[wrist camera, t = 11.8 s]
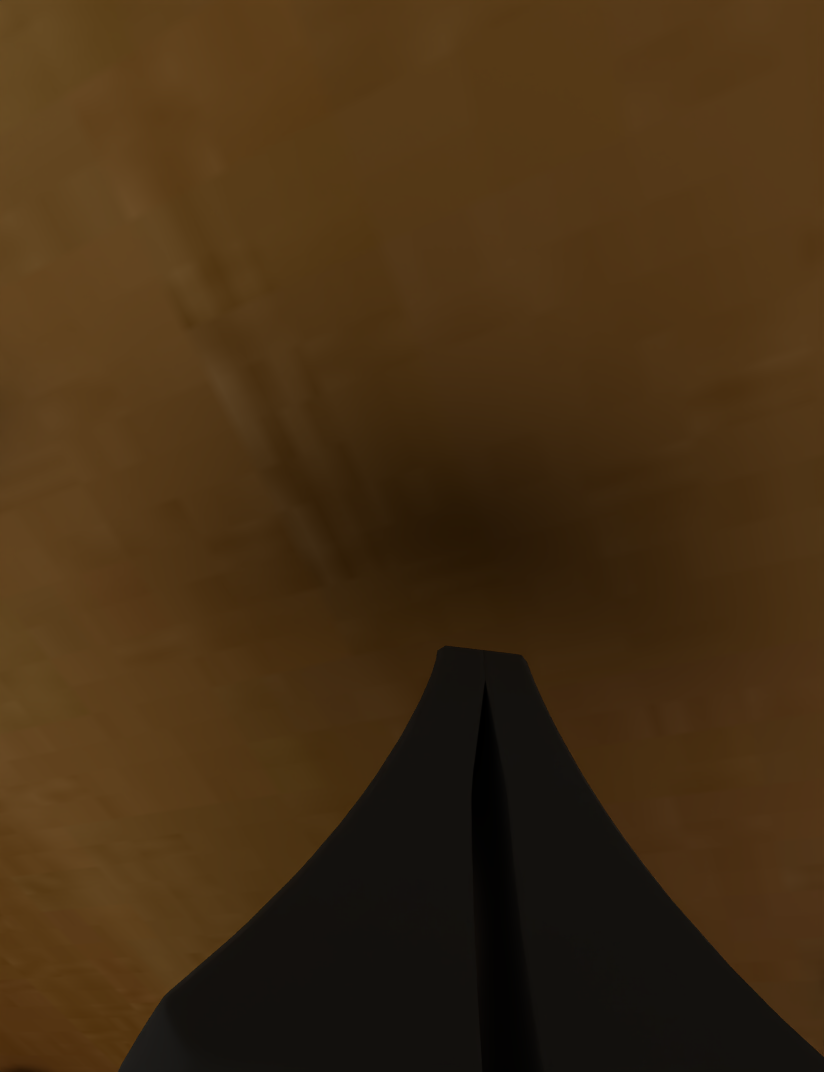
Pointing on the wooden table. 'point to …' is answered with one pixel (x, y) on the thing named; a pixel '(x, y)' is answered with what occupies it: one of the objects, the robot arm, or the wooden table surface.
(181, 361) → the wooden table surface
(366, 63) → the wooden table surface
